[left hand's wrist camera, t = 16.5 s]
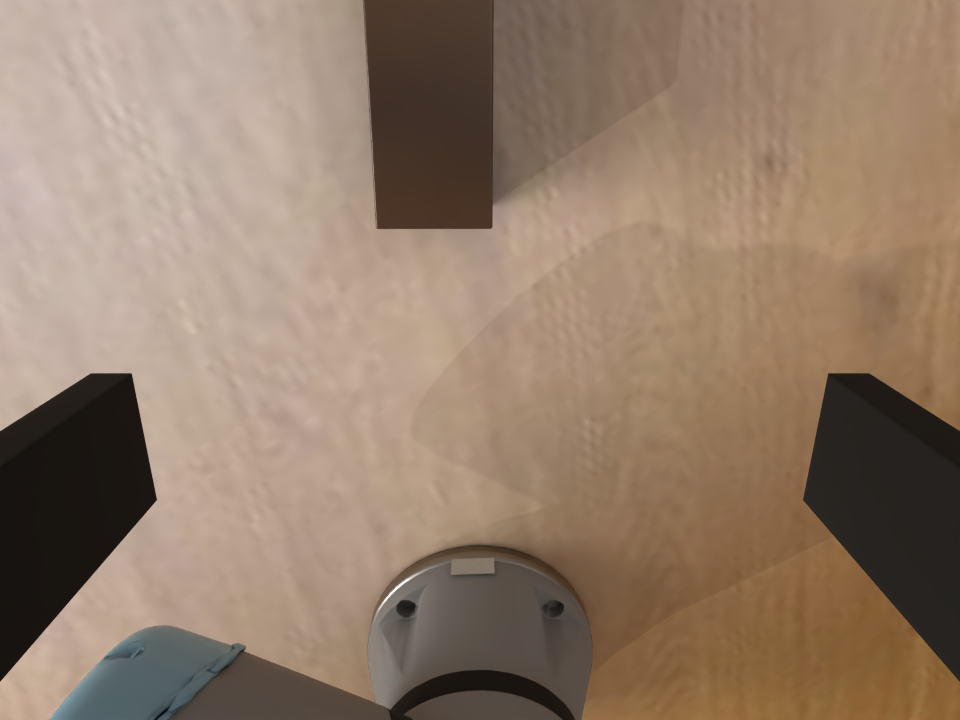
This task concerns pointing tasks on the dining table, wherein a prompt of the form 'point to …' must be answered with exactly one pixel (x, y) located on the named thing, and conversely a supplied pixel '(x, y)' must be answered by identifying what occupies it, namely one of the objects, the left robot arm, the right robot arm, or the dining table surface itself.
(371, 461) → the dining table surface
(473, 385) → the dining table surface
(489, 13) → the beam
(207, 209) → the dining table surface
